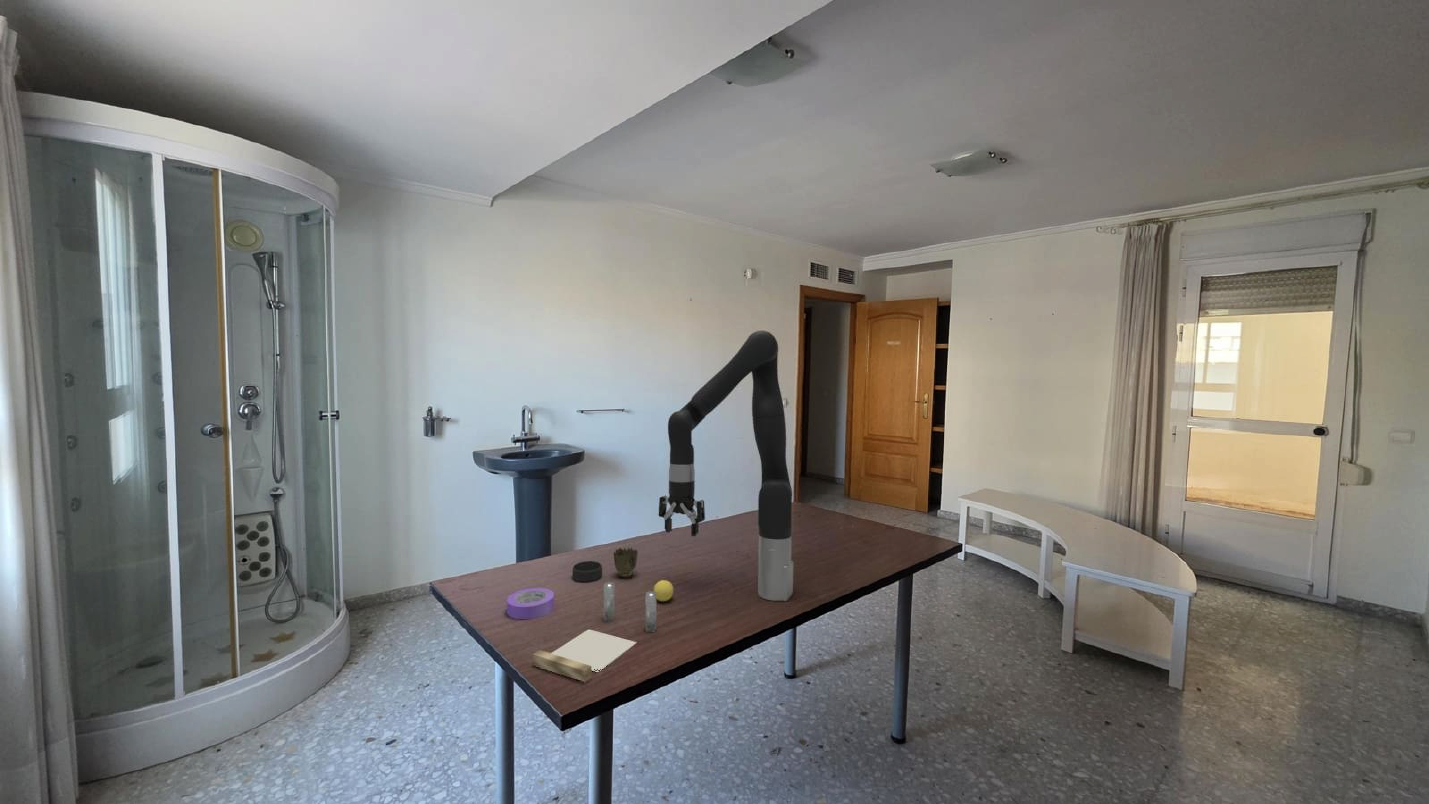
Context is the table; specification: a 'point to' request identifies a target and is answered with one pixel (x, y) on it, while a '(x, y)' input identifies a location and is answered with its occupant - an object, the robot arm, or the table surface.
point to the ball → (663, 590)
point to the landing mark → (594, 649)
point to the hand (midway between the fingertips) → (681, 533)
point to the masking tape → (530, 603)
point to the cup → (625, 561)
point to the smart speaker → (587, 571)
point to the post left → (609, 601)
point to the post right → (650, 611)
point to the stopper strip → (561, 665)
